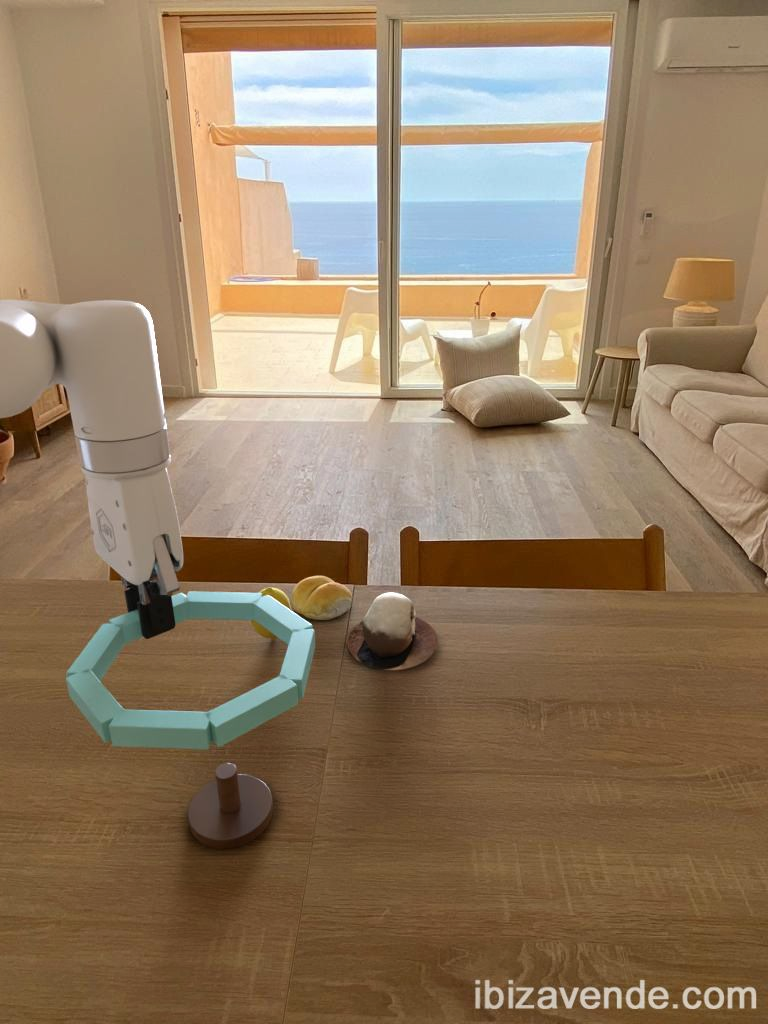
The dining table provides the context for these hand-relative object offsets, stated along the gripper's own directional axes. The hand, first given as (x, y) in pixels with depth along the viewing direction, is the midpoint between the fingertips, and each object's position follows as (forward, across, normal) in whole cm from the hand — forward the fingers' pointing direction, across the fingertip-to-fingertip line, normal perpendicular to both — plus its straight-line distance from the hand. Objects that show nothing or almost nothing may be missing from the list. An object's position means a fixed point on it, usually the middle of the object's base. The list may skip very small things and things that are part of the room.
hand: (152, 625), depth 68 cm
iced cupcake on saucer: (+16, +1, +31) cm, 35 cm away
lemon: (+17, -11, +20) cm, 28 cm away
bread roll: (+17, -13, +30) cm, 37 cm away
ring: (0, +9, 0) cm, 9 cm away
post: (+17, +11, 0) cm, 20 cm away
